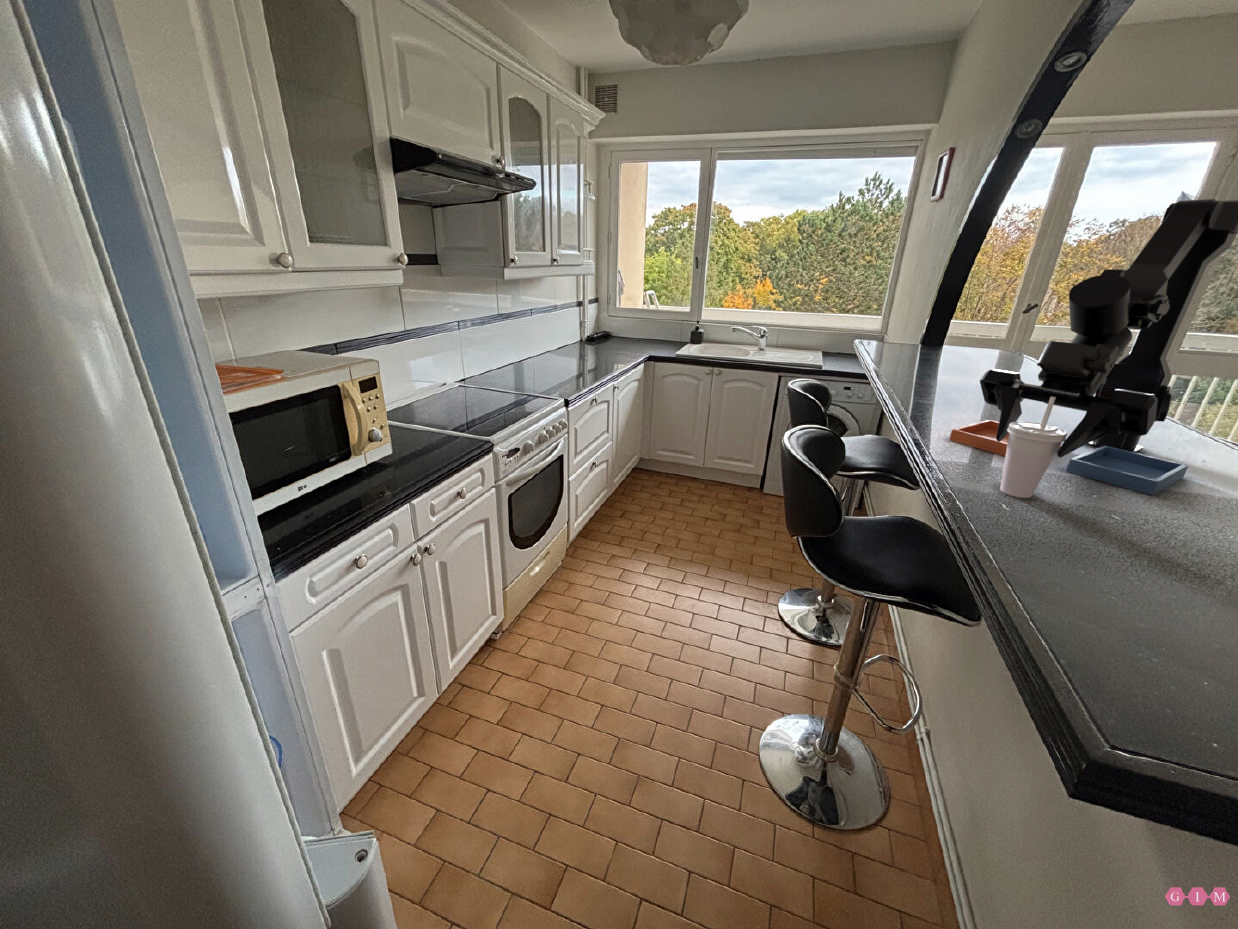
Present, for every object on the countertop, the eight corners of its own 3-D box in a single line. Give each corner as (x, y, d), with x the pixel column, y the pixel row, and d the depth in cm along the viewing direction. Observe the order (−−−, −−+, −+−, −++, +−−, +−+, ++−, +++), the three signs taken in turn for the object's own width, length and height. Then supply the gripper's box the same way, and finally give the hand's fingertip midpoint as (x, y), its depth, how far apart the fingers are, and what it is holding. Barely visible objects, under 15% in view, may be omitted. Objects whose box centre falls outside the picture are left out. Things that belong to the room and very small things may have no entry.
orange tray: (985, 429, 100) (988, 419, 99) (1059, 448, 90) (1064, 437, 89) (948, 440, 94) (951, 429, 93) (1024, 461, 84) (1028, 449, 83)
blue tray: (1099, 457, 86) (1104, 445, 86) (1183, 477, 78) (1188, 465, 77) (1065, 471, 80) (1070, 458, 79) (1152, 495, 72) (1158, 482, 71)
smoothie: (1054, 504, 69) (1091, 404, 63) (1001, 499, 70) (1034, 401, 65) (1028, 485, 75) (1061, 392, 69) (980, 481, 76) (1009, 389, 70)
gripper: (1005, 312, 73) (945, 396, 71) (1188, 326, 58) (1117, 433, 57) (1013, 362, 79) (958, 440, 78) (1179, 386, 65) (1115, 482, 63)
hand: (1027, 447), depth 69 cm, fingers open, 7 cm apart
